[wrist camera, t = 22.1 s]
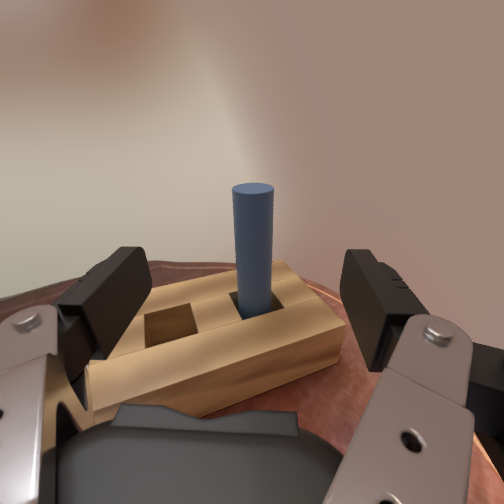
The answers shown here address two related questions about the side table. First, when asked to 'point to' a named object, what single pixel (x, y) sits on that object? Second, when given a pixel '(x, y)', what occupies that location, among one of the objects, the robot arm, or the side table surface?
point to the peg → (253, 247)
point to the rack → (215, 346)
